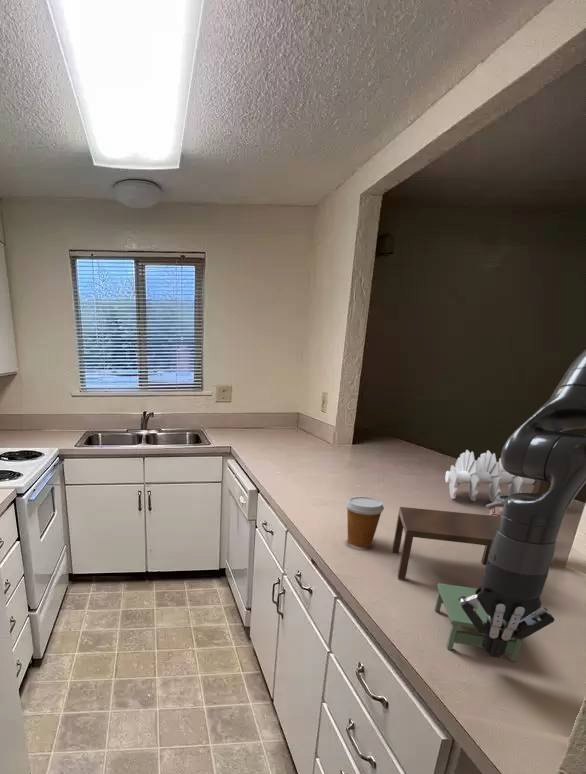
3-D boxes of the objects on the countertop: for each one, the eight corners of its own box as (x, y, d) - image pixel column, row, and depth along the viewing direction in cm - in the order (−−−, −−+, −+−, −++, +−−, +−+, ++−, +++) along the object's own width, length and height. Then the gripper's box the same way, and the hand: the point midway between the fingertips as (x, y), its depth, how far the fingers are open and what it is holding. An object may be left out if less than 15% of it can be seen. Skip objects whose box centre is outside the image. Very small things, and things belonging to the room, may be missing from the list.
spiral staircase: (439, 504, 159) (520, 507, 152) (453, 498, 143) (544, 502, 135) (440, 455, 161) (520, 456, 153) (454, 444, 144) (545, 444, 136)
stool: (494, 618, 87) (501, 592, 85) (518, 663, 74) (527, 634, 72) (432, 608, 90) (437, 583, 88) (445, 649, 78) (452, 621, 76)
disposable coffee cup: (377, 551, 115) (384, 509, 111) (339, 545, 119) (344, 504, 115) (378, 538, 123) (384, 498, 119) (343, 533, 127) (348, 494, 123)
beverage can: (472, 533, 125) (482, 494, 121) (493, 529, 127) (503, 491, 123) (504, 546, 117) (515, 505, 113) (526, 542, 119) (538, 501, 115)
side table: (488, 562, 109) (500, 516, 104) (508, 595, 94) (524, 543, 90) (391, 550, 116) (399, 506, 111) (398, 579, 102) (406, 530, 97)
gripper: (560, 556, 67) (530, 648, 73) (462, 545, 72) (442, 633, 78) (583, 579, 61) (548, 678, 67) (474, 566, 65) (451, 659, 71)
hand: (491, 653), depth 72 cm, fingers closed
